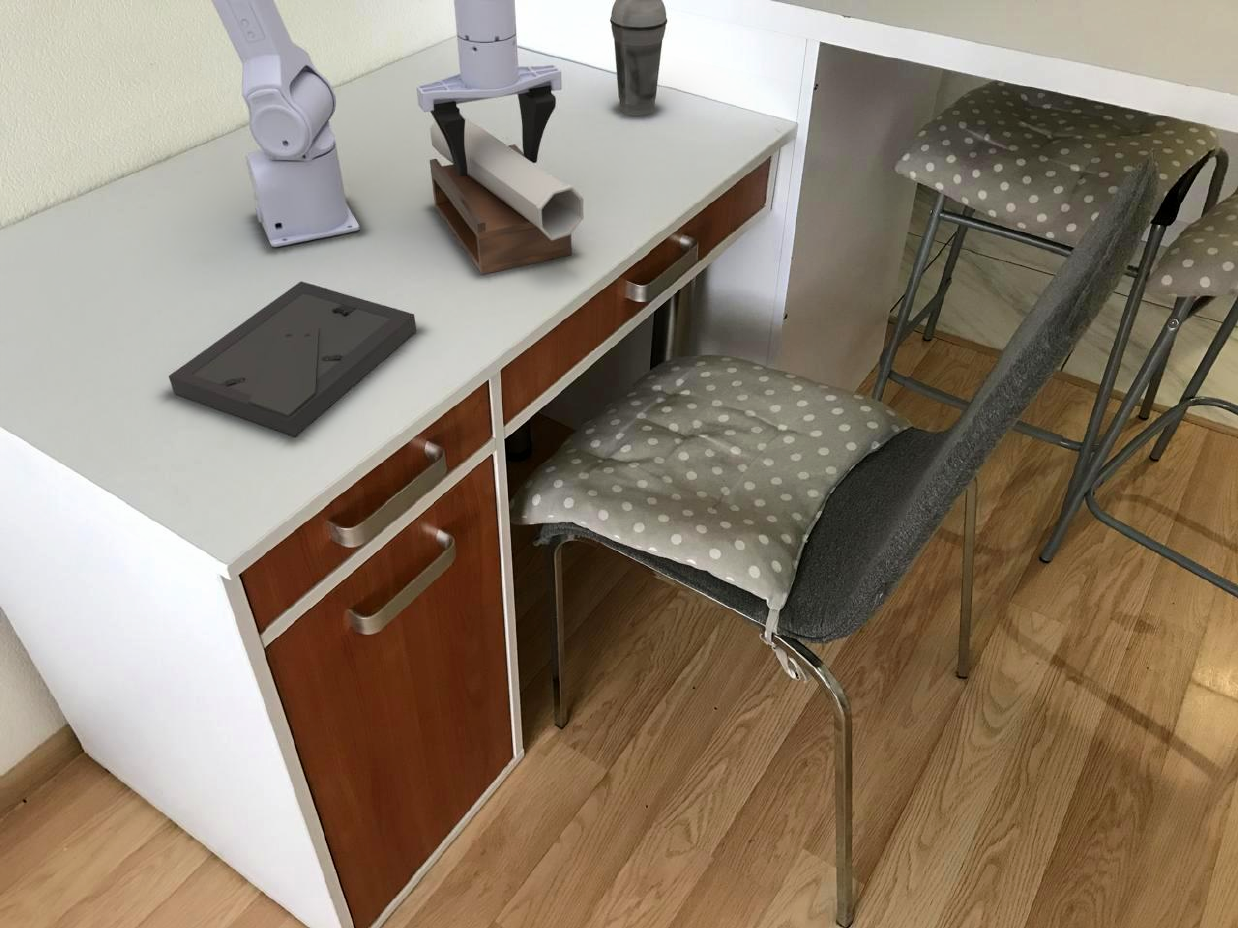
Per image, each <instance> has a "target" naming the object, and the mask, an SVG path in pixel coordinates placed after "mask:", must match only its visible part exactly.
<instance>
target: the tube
mask: <svg viewBox="0 0 1238 928" xmlns="http://www.w3.org/2000/svg"><path fill="white" fill-rule="evenodd" d="M460 114H461V116H462V117H463V118H464V119H465V133H464V142H465V154H466V161H467V175H469V176H470V177H471V178H473V179H474V180H475V181H477V182H478V183H479V184H481V185H482V186H483V187H485V188H486V189H487V190H489V191H490V192H491V193H493V194H494V195H496V196H497V197H498V198H500V199H501V200H502V201H504V202H505V203H506V204H508V205H509V206H510V207H512V208H513V209H514V210H516V211H517V212H518V213H520V214H521V215H522V216H524V217H525V218H526V219H528V220H529V221H530V222H532V223H533V224H534V225H536V226H537V227H538V228H539V229H540V230H541V231H542V232H543V233H544V234H545V235H546V236H547V237H548V238H549V239H550V240H555V239H558V238H561V237H564V236H567V235H570V234H571V235H572V233H573V232H574V231H575V229H576V228H577V227H578V226H579V225H580V224H581V222H582V221H583V220H584V216H585V215H584V198H583V196H581V195H580V194H579V192H577V190H576V189H575V188H574V187H573V186H572V185H571V184H567V185H566V184H565V183H563V182H562V181H561V180H559V179H557V178H556V177H554V176H553V175H551V174H550V173H549V172H548V171H546V170H544V169H543V168H541V167H540V166H538V165H537V164H536V163H532V162H531V161H529V160H528V159H526V158H525V157H523V156H522V155H521V154H519V153H518V152H516V151H515V150H513V149H512V148H510V147H509V145H507V144H506V143H504V142H503V141H501V140H500V139H499V138H497V137H495V136H494V135H493V134H491V133H490V132H488V131H487V130H485V129H484V128H482V127H481V126H479V125H478V124H477V123H475V122H473V121H472V120H470V119H469V118H467V117H466V116H465V115H463V113H460ZM429 130H430V131H429V132H430V140H431V146H432V147H433V148H434V149H435V150H436V151H437V152H438V153H439V154H440V155H441V156H442V157H443V158H444V159H446V160H447V161H449V162H450V163H451V164H454V163H453V159H452V156H451V153H450V150H449V147H448V145H447V142H446V140H445V138H444V136H443V134H442V132H441V130H440V128H439V126H438V124H437V122H436V121H435V120H434V121H433V123H432V125H431V127H430V128H429Z"/></svg>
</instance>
